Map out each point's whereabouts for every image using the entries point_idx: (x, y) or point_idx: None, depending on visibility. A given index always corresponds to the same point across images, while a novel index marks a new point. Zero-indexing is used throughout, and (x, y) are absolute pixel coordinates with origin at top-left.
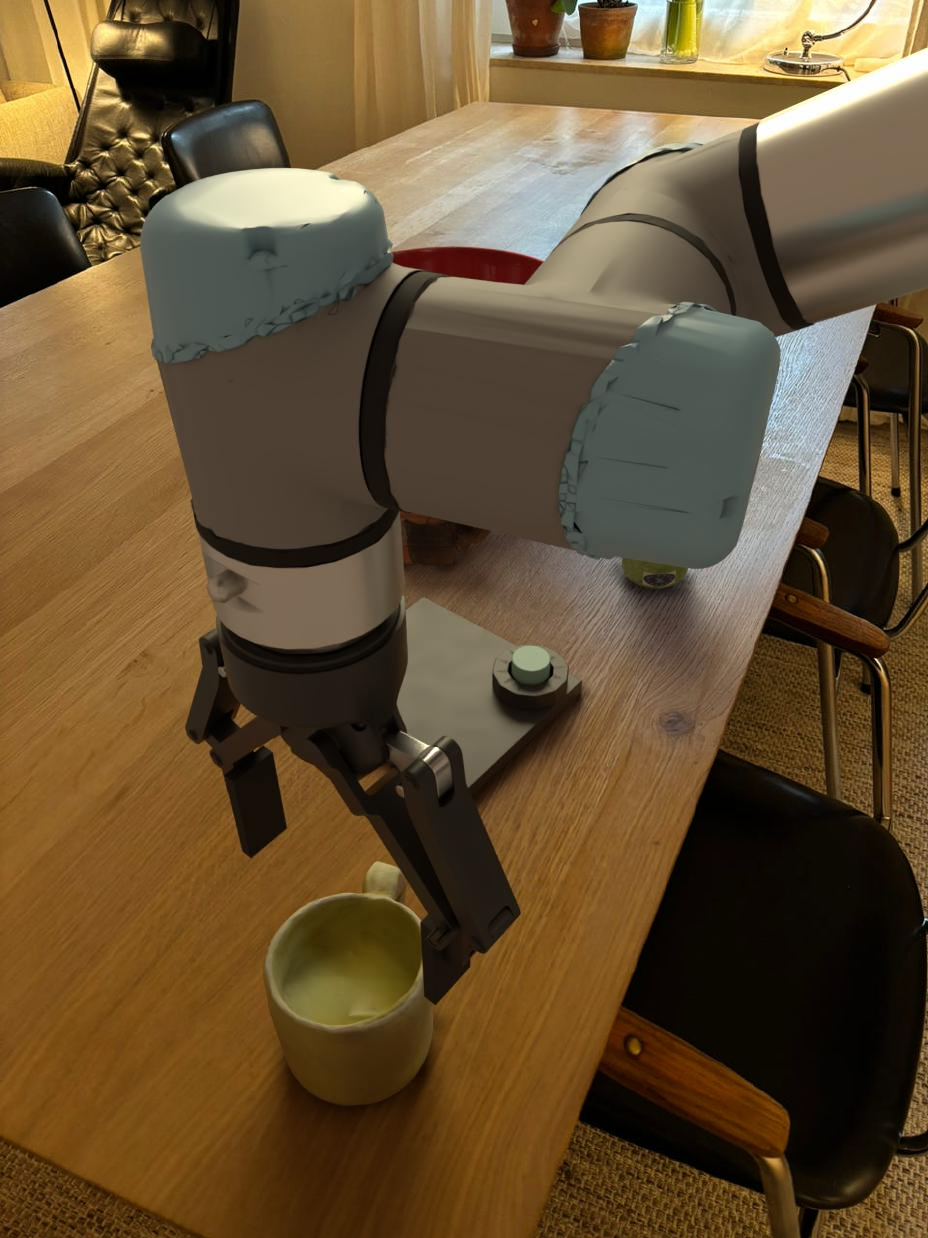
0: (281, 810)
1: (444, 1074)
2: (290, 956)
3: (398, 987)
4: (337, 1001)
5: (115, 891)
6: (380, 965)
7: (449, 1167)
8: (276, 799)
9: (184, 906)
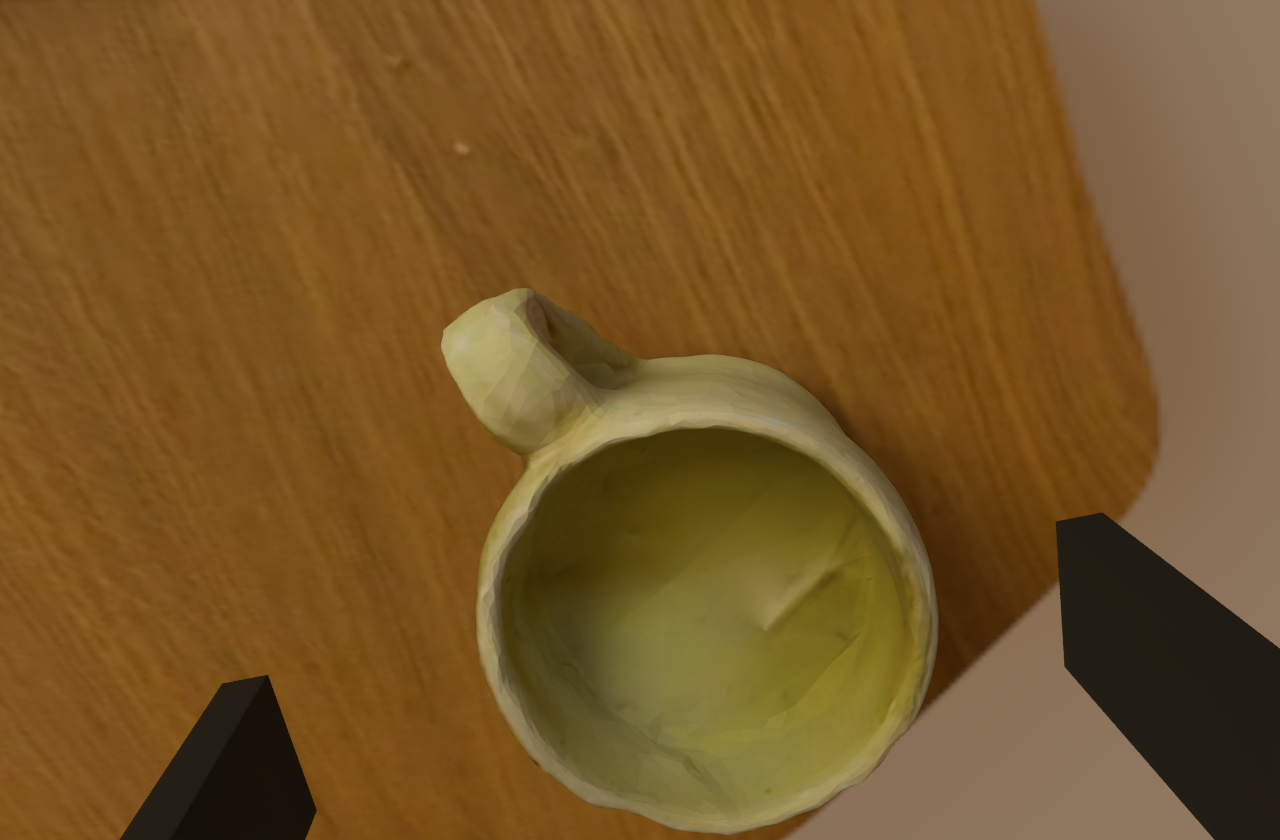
0: (231, 753)
1: (874, 408)
2: (550, 669)
3: (785, 500)
4: (716, 630)
5: (42, 721)
6: (706, 501)
7: (1009, 505)
8: (203, 816)
9: (168, 626)
